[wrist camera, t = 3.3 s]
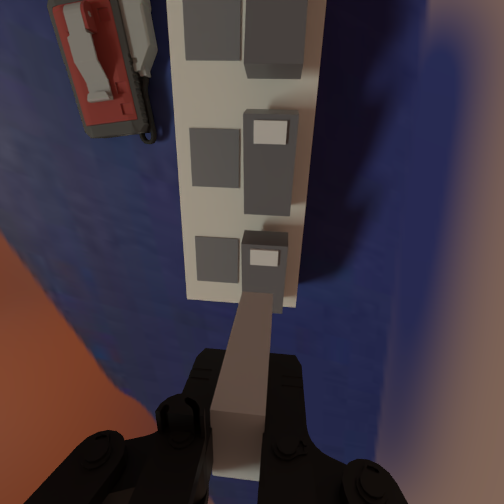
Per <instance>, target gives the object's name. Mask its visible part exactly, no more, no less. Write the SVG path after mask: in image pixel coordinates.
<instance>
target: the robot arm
mask: <svg viewBox="0 0 504 504" xmlns="http://www.w3.org/2000/svg"><path fill="white" fill-rule="evenodd" d="M272 304H273V294H270V293H256V292H242V295H241V298H240V302H239V305H238V309H237V313H236V316H235V320H234V324H233V327H232V331H231V335H230V338H229V342H228V346H227V349H226V350H220V349H209V348H205V349H204V350H203V351H202V352H201V353H200V354H199V355H198V356H197V357H196V360H195V362H194V365H193V367H192V370H191V372H190V375H189V378H188V380H187V382H186V385H185V387H184V390H183V392H182V394H176V395H174V396H171V397H169V398H167V399H166V400H165V401H163V402H162V403H161V404H160V405H159V407H158V408H157V410H156V411H155V413H156V421H157V428H158V431H157V432H155V433H153V434H150V435H147V436H143V437H139V438H134V439H129V440H124V438H123V436H122V435H121V434H120V433H118V432H117V431H112V430H106V431H101V432H97V433H95V434H93V435H91V436H89V437H87V438H86V439H85V440H84V441H83V442H82V443H80V444H79V445H78V446H77V447H76V448H75V449H74V450H73V451H72V453H70V455H69V456H68V457H67V458H66V459H65V460H64V461H63V462H62V463H61V464H60V465H59V466H58V467H57V468H56V469H55V471H54V472H53V473H52V474H51V475H50V476H49V477H48V478H47V479H46V480H45V481H44V482H43V483H42V484H41V486H40V487H39V488H38V489H37V490H36V491H35V492H34V493H33V494H32V495H31V496H30V497H29V499H28V500H27V501H26V502H25V503H24V504H207V503H208V496H209V480H210V475H211V471H212V472H213V475H215V476H223V477H230V478H238V479H246V480H254V481H259V489H258V503H257V504H408V503H407V501H406V499H405V498H404V496H403V494H402V492H401V490H400V488H399V486H398V485H397V483H396V482H395V480H394V479H393V478H392V476H391V475H390V473H389V472H387V471H386V470H385V469H383V467H381V466H380V465H379V464H377V463H375V462H372V461H370V460H367V459H356V460H353V461H351V462H349V463H348V465H346V464H344V463H342V462H339V461H337V460H335V459H333V458H331V457H329V456H327V455H326V454H324V453H322V452H321V451H320V450H319V449H318V448H317V447H316V446H315V445H314V443H313V442H312V441H311V439H310V437H309V434H308V431H307V425H306V413H305V402H304V390H303V380H302V366H301V364H300V362H299V361H298V359H297V358H296V356H295V355H286V354H275V353H270V339H271V321H272Z"/></svg>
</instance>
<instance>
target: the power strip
mask: <svg viewBox="0 0 504 504" xmlns="http://www.w3.org/2000/svg"><path fill="white" fill-rule="evenodd" d="M326 1H327V0H308V7H307V20H306V34H305V48H304V62H303V68H302V74H301V79H247V75H246V71H245V67H244V40H245V14H246V0H166V3H167V17H168V31H169V46H170V60H171V74H172V89H173V103H174V118H175V132H176V146H177V161H178V175H179V189H180V204H181V218H182V232H183V247H184V261H185V275H186V290H187V299H194V300H206V301H219V302H232V303H239V302H240V298H241V295H242V264H241V242H242V238H243V234H244V230H254V231H272V232H288V255H287V266H286V276H285V287H284V297H283V306H284V307H296V297H297V287H298V277H299V267H300V257H301V248H302V238H303V228H304V218H305V208H306V198H307V188H308V179H309V169H310V159H311V149H312V139H313V129H314V119H315V110H316V100H317V90H318V80H319V70H320V60H321V50H322V41H323V31H324V21H325V11H326ZM246 109H281V110H298V112H299V122H298V133H297V144H296V155H295V165H294V176H293V187H292V198H291V209H290V216H271V215H252V214H244V167H243V113H244V112H245V110H246Z"/></svg>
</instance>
